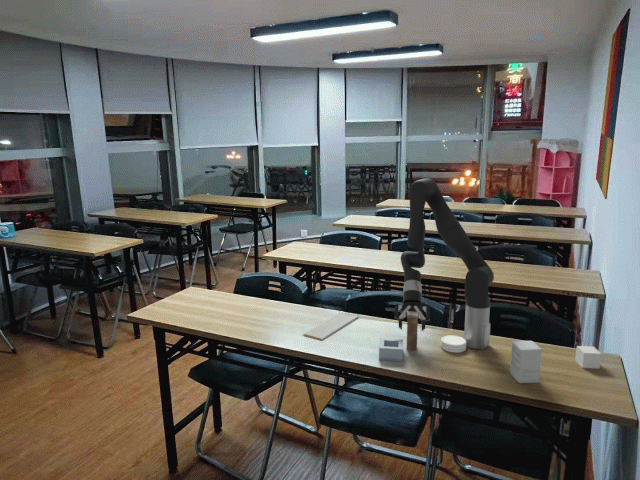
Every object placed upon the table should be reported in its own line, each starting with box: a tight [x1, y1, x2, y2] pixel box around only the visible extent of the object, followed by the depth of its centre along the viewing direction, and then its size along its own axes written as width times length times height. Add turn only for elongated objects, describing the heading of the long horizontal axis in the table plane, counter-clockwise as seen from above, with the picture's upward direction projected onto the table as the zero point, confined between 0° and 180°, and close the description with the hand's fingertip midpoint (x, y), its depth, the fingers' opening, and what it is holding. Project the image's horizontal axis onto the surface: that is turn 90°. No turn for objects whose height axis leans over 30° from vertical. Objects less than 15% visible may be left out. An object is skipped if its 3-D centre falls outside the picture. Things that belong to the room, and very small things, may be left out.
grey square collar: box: [378, 337, 404, 362], centre depth 181 cm, size 9×9×5 cm
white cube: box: [574, 345, 602, 369], centre depth 171 cm, size 6×6×6 cm
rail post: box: [406, 311, 419, 351], centre depth 186 cm, size 4×4×15 cm
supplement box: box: [509, 340, 543, 384], centre depth 161 cm, size 7×7×13 cm
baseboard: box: [302, 309, 360, 341], centre depth 212 cm, size 31×3×12 cm
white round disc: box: [440, 334, 467, 354], centre depth 187 cm, size 10×10×4 cm
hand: (411, 329), depth 185 cm, fingers open, 8 cm apart
